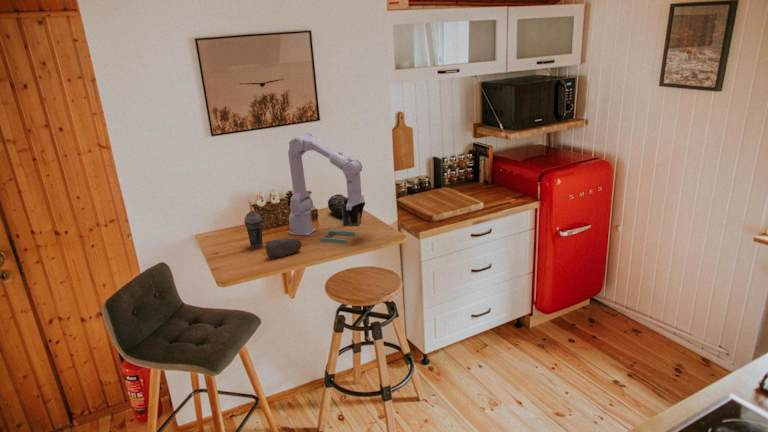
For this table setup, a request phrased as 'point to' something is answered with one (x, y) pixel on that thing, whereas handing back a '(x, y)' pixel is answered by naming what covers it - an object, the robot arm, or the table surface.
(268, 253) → the perforated stone tool
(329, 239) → the channel
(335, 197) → the pine cone
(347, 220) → the supplement bottle
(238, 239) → the table surface
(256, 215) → the beverage cup
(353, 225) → the walnut block
